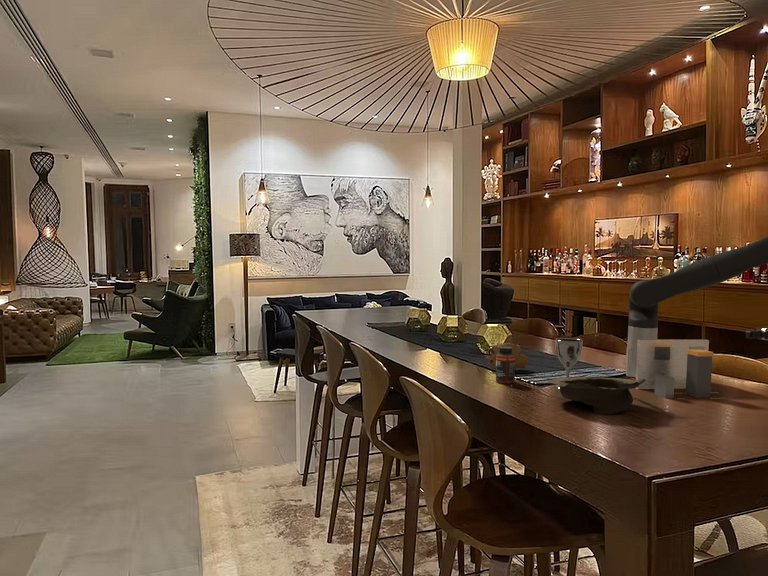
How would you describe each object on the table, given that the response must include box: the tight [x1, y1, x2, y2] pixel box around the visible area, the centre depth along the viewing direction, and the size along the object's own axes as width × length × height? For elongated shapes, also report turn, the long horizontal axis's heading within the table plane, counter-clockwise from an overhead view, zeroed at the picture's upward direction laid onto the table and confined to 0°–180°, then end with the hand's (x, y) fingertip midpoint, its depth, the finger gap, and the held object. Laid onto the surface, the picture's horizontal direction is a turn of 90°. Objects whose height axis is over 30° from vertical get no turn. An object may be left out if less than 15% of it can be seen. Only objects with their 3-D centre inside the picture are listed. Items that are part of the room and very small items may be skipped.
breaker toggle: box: [685, 350, 714, 398], centre depth 168 cm, size 5×5×13 cm
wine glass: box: [554, 337, 583, 390], centre depth 180 cm, size 8×8×15 cm
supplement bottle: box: [495, 347, 516, 385], centre depth 186 cm, size 6×6×11 cm
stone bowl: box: [547, 376, 646, 415], centre depth 158 cm, size 25×25×9 cm
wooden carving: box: [484, 342, 530, 370], centre depth 206 cm, size 16×5×10 cm, turn 108°
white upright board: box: [635, 339, 725, 400], centre depth 170 cm, size 23×15×16 cm
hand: (747, 334), depth 169 cm, fingers closed
